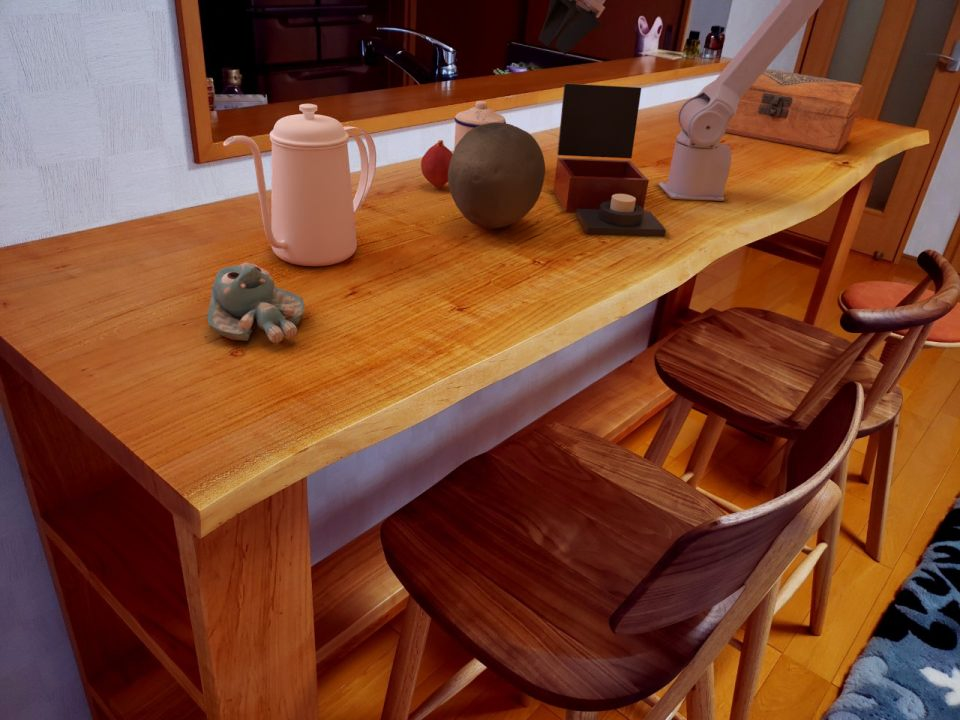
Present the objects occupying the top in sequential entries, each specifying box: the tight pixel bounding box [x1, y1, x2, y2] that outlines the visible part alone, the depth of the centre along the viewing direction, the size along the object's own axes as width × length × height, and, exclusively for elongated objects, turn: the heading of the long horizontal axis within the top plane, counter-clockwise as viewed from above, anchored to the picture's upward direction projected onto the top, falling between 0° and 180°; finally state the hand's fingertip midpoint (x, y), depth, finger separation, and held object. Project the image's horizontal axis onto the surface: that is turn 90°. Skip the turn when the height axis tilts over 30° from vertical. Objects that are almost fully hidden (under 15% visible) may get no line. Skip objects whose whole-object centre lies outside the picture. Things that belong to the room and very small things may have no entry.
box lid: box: [556, 82, 642, 159], centre depth 123 cm, size 11×13×1 cm
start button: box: [610, 194, 636, 213], centre depth 113 cm, size 4×4×2 cm
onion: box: [420, 139, 453, 189], centre depth 123 cm, size 6×6×8 cm
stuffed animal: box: [206, 261, 306, 344], centre depth 79 cm, size 11×7×12 cm
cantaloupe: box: [447, 122, 546, 230], centre depth 107 cm, size 14×14×15 cm
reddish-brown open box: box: [552, 157, 650, 214], centre depth 122 cm, size 11×13×6 cm
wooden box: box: [720, 63, 865, 154], centre depth 172 cm, size 30×16×14 cm, turn 58°
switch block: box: [574, 201, 667, 238], centre depth 114 cm, size 12×8×3 cm, turn 96°
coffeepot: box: [223, 103, 377, 267], centre depth 93 cm, size 11×25×19 cm, turn 148°
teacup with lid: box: [453, 100, 507, 150], centre depth 134 cm, size 12×9×12 cm
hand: (552, 47), depth 121 cm, fingers open, 7 cm apart
